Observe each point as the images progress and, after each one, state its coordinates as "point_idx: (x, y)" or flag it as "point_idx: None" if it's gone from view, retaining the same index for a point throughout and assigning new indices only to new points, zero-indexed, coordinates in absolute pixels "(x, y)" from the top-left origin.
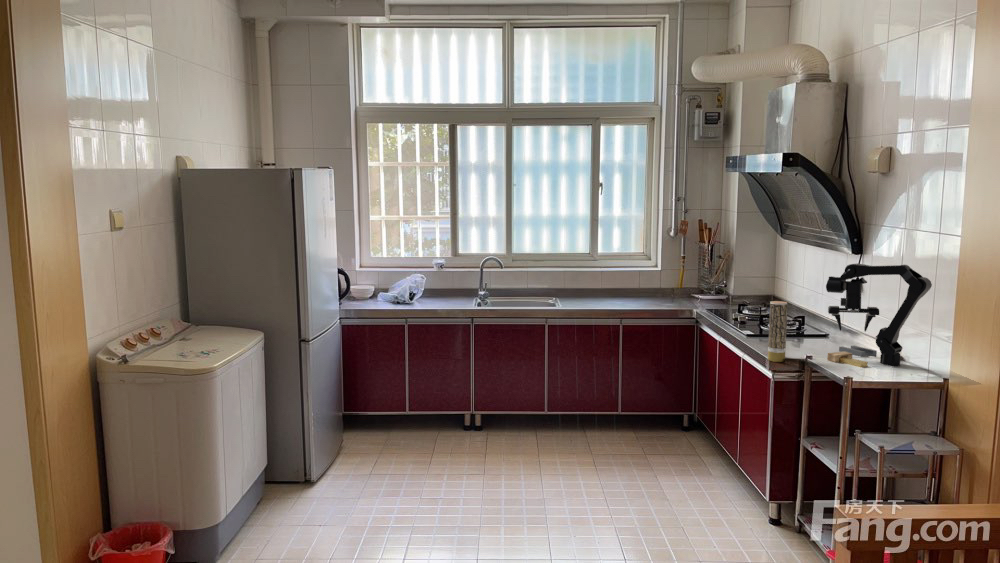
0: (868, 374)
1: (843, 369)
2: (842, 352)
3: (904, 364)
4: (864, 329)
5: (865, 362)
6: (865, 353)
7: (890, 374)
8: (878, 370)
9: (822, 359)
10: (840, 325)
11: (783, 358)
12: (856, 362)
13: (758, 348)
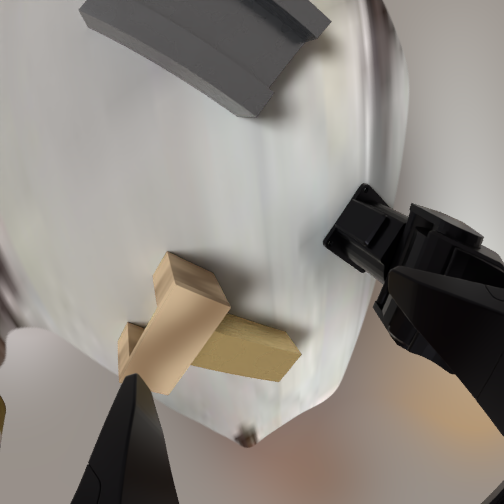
0: (291, 378)
1: (208, 378)
2: (173, 319)
3: (405, 118)
4: (402, 281)
5: (294, 362)
6: (261, 33)
7: (350, 331)
8: (322, 306)
9: (50, 252)
10: (162, 462)
11: (4, 413)
12: (260, 376)
13: None
